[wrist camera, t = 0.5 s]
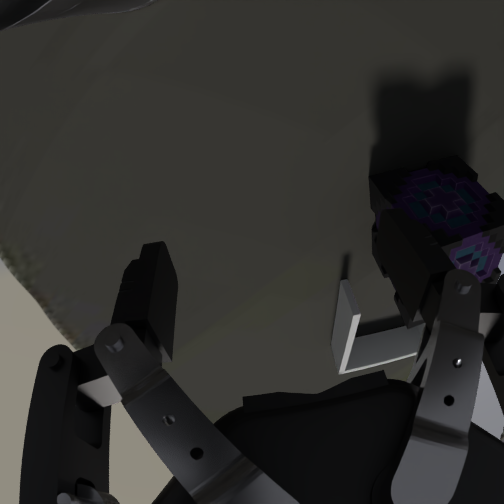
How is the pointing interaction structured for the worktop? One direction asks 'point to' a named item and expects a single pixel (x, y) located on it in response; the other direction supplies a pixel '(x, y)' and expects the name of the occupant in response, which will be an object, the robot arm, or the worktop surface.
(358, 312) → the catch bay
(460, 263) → the energy cube
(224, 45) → the worktop surface
